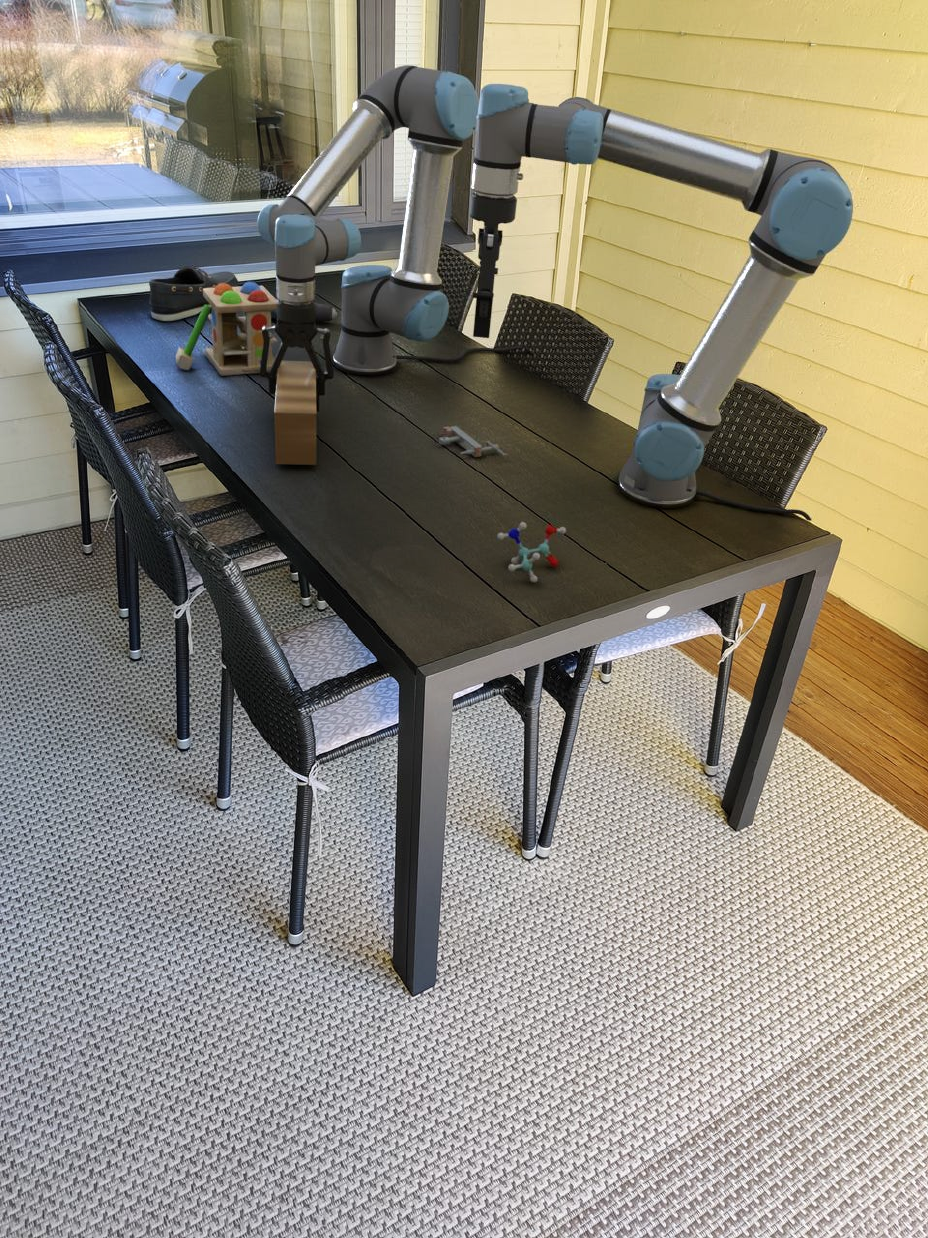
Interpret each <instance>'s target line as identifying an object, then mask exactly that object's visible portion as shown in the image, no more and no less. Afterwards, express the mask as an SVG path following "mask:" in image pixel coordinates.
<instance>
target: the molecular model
mask: <svg viewBox="0 0 928 1238" xmlns="http://www.w3.org/2000/svg"><path fill="white" fill-rule="evenodd" d="M527 526H528V525H527V523H526V522H524V521H521V522H520V523H519V525H518V527H517V528H511V529H510V530H509V532H505V533H504V532H498V533H497V535H496V537H497V539H498V540H499V541H503V540H504V539H505V538H509V537H510V538H511V539H512V540H514V541H515V542H516V545H517V546H518V548H519V550H518V551H517V552H518V555H516V556H515V557H512V558H511V561H510V562H511V563H510V564H509V565H508V567H507V568H508V571H509V572H511V573H512V572H515V571H516V570H519V569H522V570H523V571H527V573H528V574H529V577H530V578H529V581H530V583H537V582H538V580H539V579H538V577H537V575H535V574H534V572H533V570H532V567H533V562H534V561H539V560H540V558H541V555H544V557H545V559H546V560H547V561H548V564H549V566H550V567H551V568H557V567H558V566H559V560H558V558H556V557H554V556H553V554H552V553H551V551H550V546H549V545H548V543H549V541H550V537H551V536H553V535H554V534H555V533H559V534H560V535H565V534H566V532H567V529H566V527H564V526H561V527H559V528H555V527H554V526H553V525H547V526H546V527H545V529H544V532H545V535H546V536H545V538H544V541H543V543H541V544H539V545H538V547H536V548H531V549H528V548H527V547H524V546H523V544H522V541H521V540H520V535H521V534H520V532H521V531H522V530H525V529H526V528H527ZM530 554H532V557H531V558H530V559H528V557H529V556H530ZM540 554H541V555H540ZM520 559H522V560H521V563H519V560H520Z"/></svg>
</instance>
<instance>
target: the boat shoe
mask: <svg viewBox="0 0 928 1238" xmlns="http://www.w3.org/2000/svg"><path fill="white" fill-rule="evenodd" d="M221 283H226V284H228V285H230V286H231V287H240V285H239V280H238V278H237V277H236V275H235V274H234V273H233V272H231V271H220V272H213V273H210V274H208V273H207V272H206V271H205V270H204V269H202V268H199V267H195V266H191V265H186V266H185V265H184V266H183V267H181V268H179V269H178V270H177V271H176V272H175V273H174V274H173V277H172V276H171V277H167V278H166V277H165V278H152V279H150V280H149V281H148V285H149V291H150V292H149V302H148V306H151V309H150V313H151V317H152V318H153V319H155V320H157V321H162V322H171V321H172V322H173V321H178V320H182V319H184V318H188V317H192V316H196V315H197V314H200V313H201V311H202V309H203V307H204V305H208V306H210V307H211V305H210V304H209V302H208V301H207V300H206V299H205V297H204V296H203V289H204V288H215V287H216V286H217V285H218V284H221Z"/></svg>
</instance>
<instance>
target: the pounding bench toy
mask: <svg viewBox="0 0 928 1238" xmlns="http://www.w3.org/2000/svg"><path fill="white" fill-rule="evenodd" d="M203 296H204V297H205V299H206V300H207V301H208V302H209V304H210V305H211V307H210V306H208V305H204V307H203V309H202V311H201V312H200V313H199V316H198V318H197V320H196V322H195V324H194V327H193V329H192V331H191V332H190V333H191V334H190V336H189V338H188V340H187V343H186V344H185V347H184V348H182V347H180V346H179V347H178V349H177V351H176V354H175V357H174V358H175V362H176V365H177V366H178V368H179V369H182V370H185V371H189V370H190V369H191V367H192V365H193V363H194V356H193V351H194V348H195V347H196V345H197V342H198V340H199V337H200V336H201V333H202V332H203V329H204V326H205V325H206V322H207V320H209V321H210V322H211V336H212V337H211V338H212V339H211V340H212V348H205V349H204V352H205V353H204V355H205V357H206V359H208V361H209V363H210V364H211V365H212V366H213V367H214V369H215V370H216V371H217V372H218V374H219V375H220V376H222V377H223V376H234V375H235V376H236V375H246V374H247V375H250V374H260V366H261V358H262V351H263V343H264V340H263V336H262V327H263V326H267V327H272V318H271V310H277V300H276V299H277V298H276V297H274V296H273V295H272V294H271V293H270V292H269V290H268V289H267V288H266V287H264V285H259V284H257V283H256V282H255V281H247V282H245V283H244V284H243V285H242V286H239V287H231V286H230V285H228V284H226V283H221V284H218V285H217V286H216V287H215V288H204V289H203ZM238 313H244V314H245V315H244V316H238ZM238 329H239V331H240V333H239V334H238ZM278 342H279V341H278V339H277V338H276V337H275V336H274V335H273V338H271V339H270V345H269V352H268V360H267V367H266V369H267V370H270V369H271V366H272V364H273V362H274V359H275V357H276V356H274V355H273V348H272V347H273V345H272V344H276V343H278Z"/></svg>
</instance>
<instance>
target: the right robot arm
mask: <svg viewBox="0 0 928 1238" xmlns="http://www.w3.org/2000/svg"><path fill="white" fill-rule="evenodd" d="M479 93H480V94H479V99H478V102H479V108H478V115H477V117H476V119H477V124H476V128H475V142H474V157H473V162H472V173H471V186H470V188H471V189H472V190H473V192H472V193H471V194H470V200H469V201H470V202H469V212H468V213H469V217H470V218H471V219H473V220H475V221H477V222H483V228H480V227H479V228H478V237H477V244H478V254H477V258H478V260H480V261H479V268H478V271H479V273H478V278H477V290H476V292H472V298H473V299H476V300H475V308H474V322H473V330H472V332H473V334H472V337H473V338H483V339H490V333H491V322H492V313H493V302H494V301H493V300H494V298H495V297H494V296H495V294H494V285H495V275H498V274H499V268H498V267H496V264H497V262H498V261H499V260H500V251H501V246H502V243H503V230H501V229H499V225H500V224H510V223H512V222H514V221H515V220H516V213H517V206H518V205H517V203H518V198H517V197H516V196H515V195H516V194H517V193H518V191H519V190H518V189H519V181H522V180H523V179H524V173H521V167H522V158H523V157H524V158H531V159H532V158H534V159H540V160H546V161H553V162H554V161H555V162H561V163H568V164H571V165H574V166H576V165H587V166H588V165H589V166H591V165H593V164H595V163H596V162H597V160H598V159H600V160H603V161H606V162H609V163H613V164H615V165H620V166H623V167H625V168H629V169H632V170H636V171H638V172H642V173H646V174H648V175H651V176H652V175H653V176H655V177H659V178H662V179H665V180H667V181H668V180H669V181H672V182H675V183H678V184H681V185H684V186H687V187H691V188H694V189H698V190H701V191H704V192H708V193H710V194H714V195H717V196H720V197H724V198H727V199H730V200H733V201H736V202H740V203H741V204H742V206H743V208H744V211H747V212H750V213H753V214H756V215H759V216H760V218H759V219H758V221H757V223H756V225H755V226H754V228H753V230H752V232H751V233H750V235H749V237H748V239H747V240H748V246H749V250H750V254H749V256H748V258H747V260H746V261H745V263H744V265H743V266H742V268H741V270H740V271H739V273H738V275H737V277H736V278H735V280H734V281H733V284H732V285H731V287H730V289H729V290H728V292H727V294H726V295H725V297H724V299H723V301H722V303H721V304H720V306H719V308H718V309H717V311H716V312H715V314H714V316H713V317H712V319H711V321H710V323H709V324H708V326H707V328H706V330H705V332H704V333H703V335H702V336H701V338H700V340H699V342H698V344H697V345H696V347H695V349H694V351H693V352H692V354H691V355H690V357H689V359H688V360H687V362H686V364H685V365H684V368H683V369H682V371H681V372H680V374H673V373H657V374H654V375H651V376H650V377H649V378H648V380H647V382H646V386H645V388H644V396H643V401H642V405H641V410H640V416H639V421H638V427H637V431H636V437H635V439H634V443H633V450H632V452H631V454H630V455H629V457H628V459H627V460H626V461H625V462H626V463H624V466H623V468H622V469H621V472H620V473H619V476H618V481H617V488H618V490H619V492H620V493H621V494H622V495H623V496H624V497H626V498H628V499H629V500H631V501H633V502H635V503H637V504H640V505H644V506H648V507H652V508H658V509H677V508H682V507H686V506H688V505H690V504H692V503H693V502H694V501H695V498H696V495H699V496H701V497H706V498H708V499H711V500H713V501H716V502H719V503H722V504H726V505H730V506H734V507H738V508H742V509H746V510H753V511H760V512H770V513H777V514H784V515H785V514H787V515H789V514H790V513H791V514H793V515H794V514H795V515H800V516H802V517H804V519H805V520H806V521H808V522H811V521H813V520H812V519H813V518H811V516H810V515H809V514H808V513H807V512H805V511H803V510H800V509H795V508H794V509H792V508H791V509H789V508H787V509H786V508H776V507H768V506H761V505H759V506H758V505H753V504H747V503H743V502H738V501H734V500H731V499H726V498H723V497H720V496H718V495H714V494H712V493H709V492H706V491H703V490H699V489H697V477H696V471H697V470H698V469H699V467H700V466H701V463H702V461H703V458H704V456H705V455H704V454H705V448H706V446H707V444H708V442H709V441H710V440H711V438H712V437H713V435H714V434H715V432H716V430H717V428H718V427H719V425H720V423H721V422H722V416H721V411H720V407H721V405H722V404H723V402H724V401H725V399H726V398H727V396H728V394H729V392H730V391H731V390H732V388H733V387H734V384H735V383H736V381H737V380H738V378H739V376H740V375H741V373H742V372H743V370H744V368H745V367H746V366H747V364H748V362H749V360H750V359H751V357H752V356H753V354H754V353H755V350H756V349H757V348H758V346H759V345H760V342H761V341H762V340H763V338H764V336H765V335H766V333H767V331H769V328H770V327H771V325H772V324H773V322H774V320H775V319H776V317H777V316H778V314H779V312H780V311H781V309H782V307H783V306H784V305H785V303H786V301H787V299H788V298H789V296H790V295H791V293H792V292H793V290H794V288H795V287H796V285H797V284H798V283H799V281H801V280H802V279H806V278H809V277H812V276H814V275H815V273H816V271H817V270H818V268H819V266H820V265H821V264H822V262H823V260H824V259H825V257H826V255H827V254H830V252H832V251H833V250H834V249H836V248H837V247H838V245H839V244H841V242H842V241H843V240H844V238H845V237H846V235H847V234H848V232H849V229H850V226H851V225H852V220H853V214H854V200H853V195H852V192H851V190H850V188H849V186H848V184H847V182H846V181H845V180H844V179H843V177H842V176H841V175H840V173H839V172H838V171H837V170H836V168H835V167H834V166H833V165H832V164H830V163H829V162H826V161H824V160H822V159H818V158H815V157H814V158H813V157H807V156H802V155H796V154H792V153H787V152H783V151H778V150H775V149H772V148H766V149H764V150H763V151H761V152H756V151H753V150H749V149H746V148H744V147H740V146H736V145H732V144H730V143H726V142H722V141H720V140H716V139H712V138H710V137H706V136H702V135H699V134H696V133H692V132H690V131H686V130H684V129H683V130H682V129H679V128H676V127H673V126H669V125H666V124H663V123H659V122H656V121H652V120H650V119H645V118H643V117H639V116H636V115H633V114H629V113H625V112H623V111H619V110H615V109H613V108H612V109H610V108H608V107H605V106H602V105H598V104H595V103H594V102H593V101H591V100H589V99H588V98H585V97H580V96H575V97H569V98H566V99H565V100H564V101H562V102H561V103H559V104H558V106H557V105H546V104H538V103H533V102H531V101H530V99H529V90H528V89H527V88H526V87H523V86H519V85H515V84H505V83H489V84H486V85H485V86H483V87H482V88H481V90H480V92H479ZM791 514H790V515H791Z"/></svg>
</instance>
